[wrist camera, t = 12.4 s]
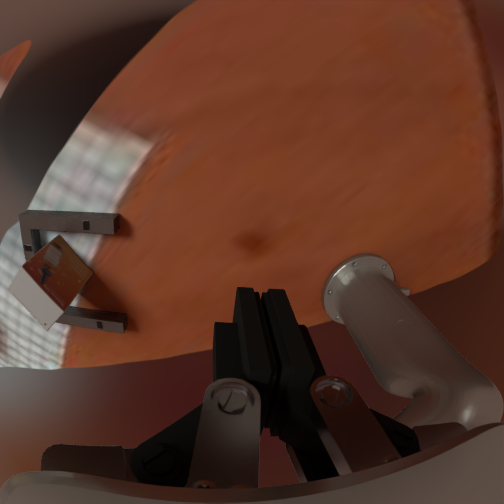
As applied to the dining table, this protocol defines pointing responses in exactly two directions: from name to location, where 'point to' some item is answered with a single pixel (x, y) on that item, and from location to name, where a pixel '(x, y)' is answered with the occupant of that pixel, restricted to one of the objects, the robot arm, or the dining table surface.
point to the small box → (50, 281)
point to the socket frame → (73, 223)
